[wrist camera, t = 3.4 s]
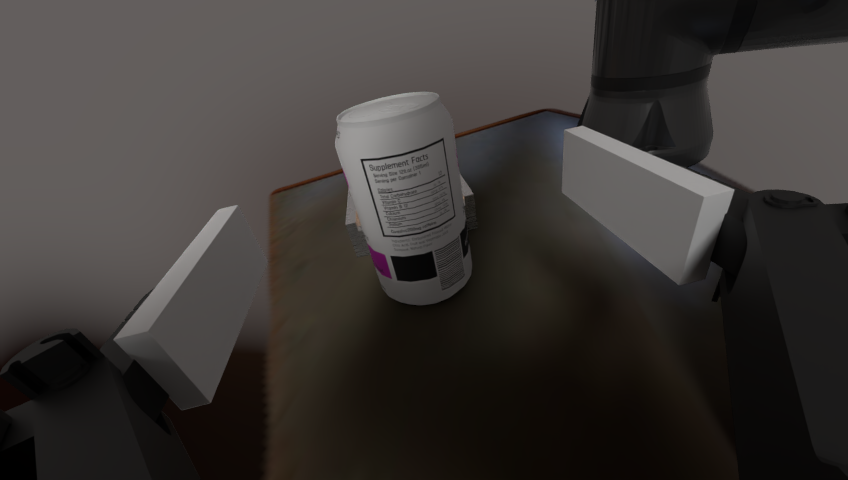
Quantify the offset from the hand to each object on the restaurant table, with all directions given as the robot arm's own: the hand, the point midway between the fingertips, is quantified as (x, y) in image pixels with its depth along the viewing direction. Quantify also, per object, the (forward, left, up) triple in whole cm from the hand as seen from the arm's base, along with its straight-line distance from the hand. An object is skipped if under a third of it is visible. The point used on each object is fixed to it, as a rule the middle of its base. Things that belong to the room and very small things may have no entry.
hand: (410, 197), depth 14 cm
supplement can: (-4, -11, -14) cm, 18 cm away
